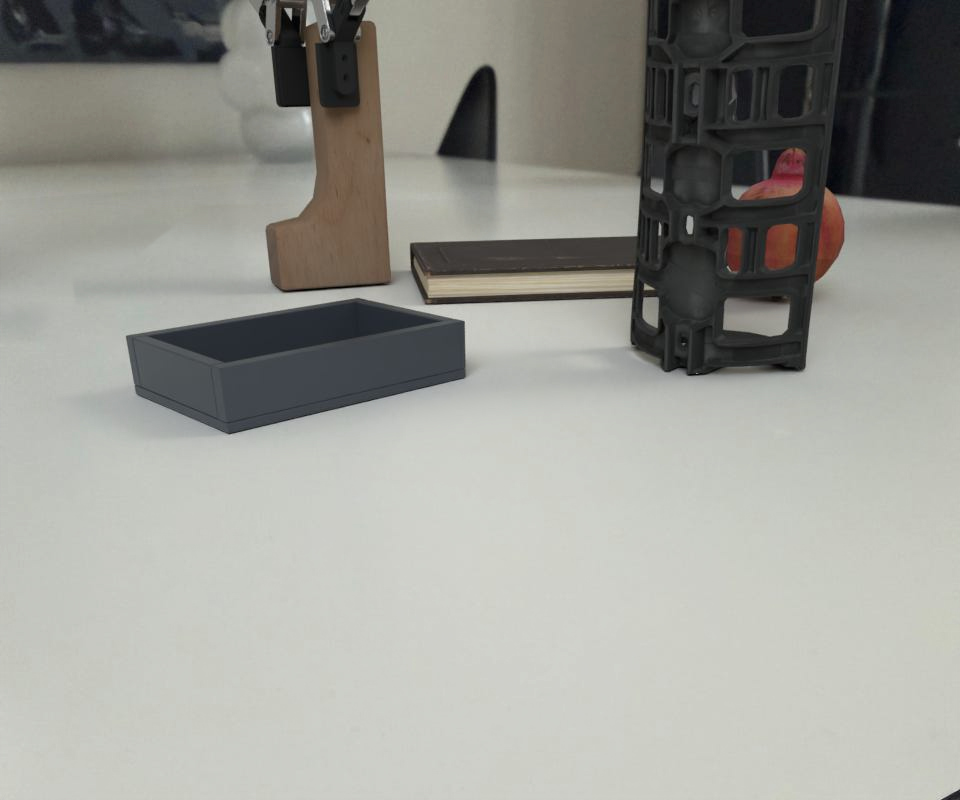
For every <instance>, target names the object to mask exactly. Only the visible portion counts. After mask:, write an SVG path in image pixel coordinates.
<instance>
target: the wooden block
mask: <svg viewBox="0 0 960 800" xmlns="http://www.w3.org/2000/svg"><path fill="white" fill-rule="evenodd" d="M360 29H361V39H360V41H359V42H358V43H356V46H357V61H358V77H359V93H360V104H359V106H357V107H336V108H324V107H322V106H321V105H320V101H319V89H318V76H317V64H316V52H315V43H324V42H323V41H322V40H321V38H320V34H319V29H318V25H317V21H315V22H313V23H311V24H309V25H306V27H305V30H304V35H305V44H304V46H306V58H307V69H308V80H309V92H310V103H311V107H310V114H311V124H312V125H311V127H312V134H313V137H312V138H313V146H314V158H315V170H316V173H315V180H314V187H313V193H312V198H311V199H310V201H309V202H308V203H307V204H306V206H305V207H304V208H303V210H302V211H301V212H300V214H299V215H298V216H295V217H291V218H287V219H283V220H279V221H276V222H271V223H269V224H267V225H266V226H265V232H264V233H265V239H266V248H267V259H268V267H269V276H270V281H271V283H272V284H273V285H274V286H276V287H278V288H279V289H280V290H283V291H285V292H286V291H296V290H311V289H313V290H314V289H324V288H325V289H326V288H337V287H351V286H352V287H353V286H364V285H365V286H366V285H378V284H388V283H389V282H391V279H392V273H391V258H390V242H389V241H390V240H389V225H388V208H387V189H386V173H385V171H386V169H385V155H384V138H383V123H382V121H383V120H382V105H381V103H382V102H381V90H380V89H381V88H380V72H379V71H380V70H379V55H378V53H379V51H378V37H377V26H376V24H375V22H374V21H372V20H362V22H361V24H360Z"/></svg>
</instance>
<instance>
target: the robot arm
mask: <svg viewBox="0 0 960 800" xmlns="http://www.w3.org/2000/svg"><path fill="white" fill-rule="evenodd" d="M248 1H249V3H250V4H251V6H252V8H253V9H254V10H255V12H256V13H257V15H258V18H259V21H260V22H261V24H262V26H263V28H264V29H265V41H266V44H267V45H268V46H269V47H270V51H271V63H272V73H273V84H274V93H275V102H276V105H277V106H278V108H311V103H310V92H309V80H308V69H307V58H306V46H305V35H304V30H305V27H307V16H308V0H248ZM311 2H312V6H313V7H312V8H313V10H314V15H315V20H316V22H317V25H318V29H319V34H320V38H321V40H322V41H323V42H324V43H315V52H316V64H317V76H318V89H319V101H320V105H321V106H322V107H324V108H336V107H357V106H359V104H360V93H359V77H358V61H357V46H356V43H358V42H359V41H360V39H361V29H360V24H361V22H362V21H363V19H364V17H365V14H366V12H367V6H368V4H369V2H370V0H311ZM330 5H334V7H333V10H331V6H330ZM286 9H291V18H290V15H289V14H288V12H287V11H286Z"/></svg>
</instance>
